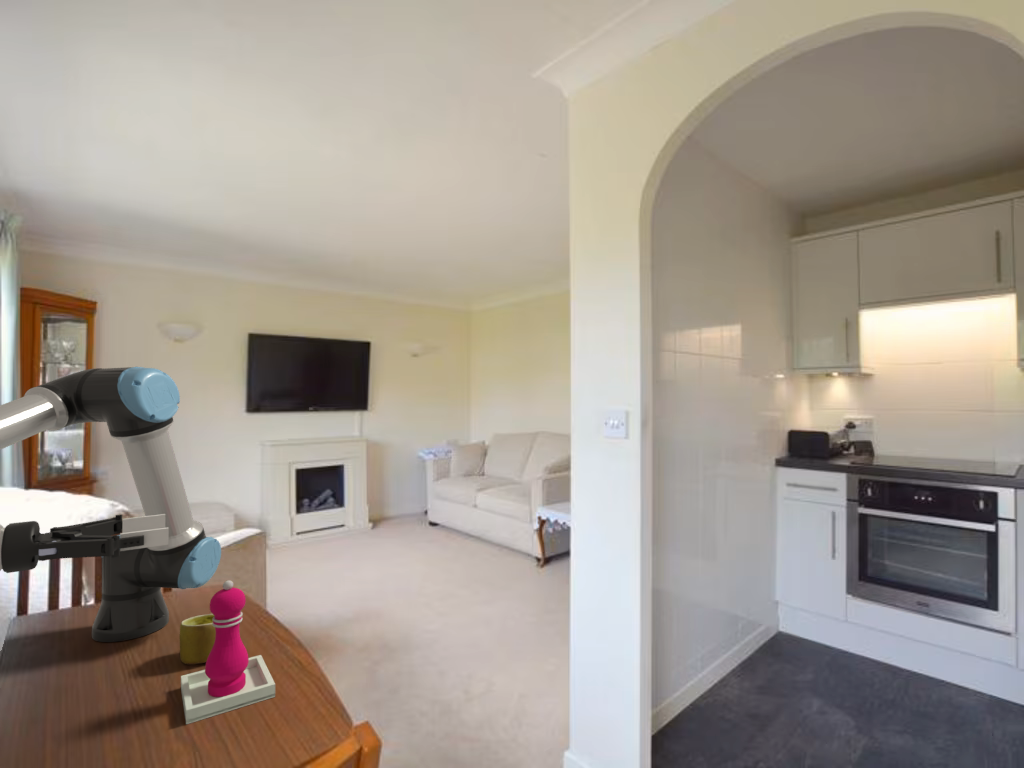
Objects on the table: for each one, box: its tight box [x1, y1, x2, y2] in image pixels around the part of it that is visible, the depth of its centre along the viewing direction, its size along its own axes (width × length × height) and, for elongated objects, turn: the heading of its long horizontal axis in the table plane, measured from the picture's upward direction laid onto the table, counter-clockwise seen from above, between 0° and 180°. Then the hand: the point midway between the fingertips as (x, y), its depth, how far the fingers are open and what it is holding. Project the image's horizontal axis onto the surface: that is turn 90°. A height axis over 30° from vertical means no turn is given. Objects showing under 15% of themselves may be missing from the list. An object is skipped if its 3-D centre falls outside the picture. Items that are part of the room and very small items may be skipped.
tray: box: [180, 654, 276, 725], centre depth 99 cm, size 14×14×2 cm
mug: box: [179, 613, 216, 665], centre depth 114 cm, size 12×10×10 cm
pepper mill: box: [204, 579, 249, 697], centre depth 99 cm, size 7×7×20 cm
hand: (167, 528), depth 94 cm, fingers open, 13 cm apart
